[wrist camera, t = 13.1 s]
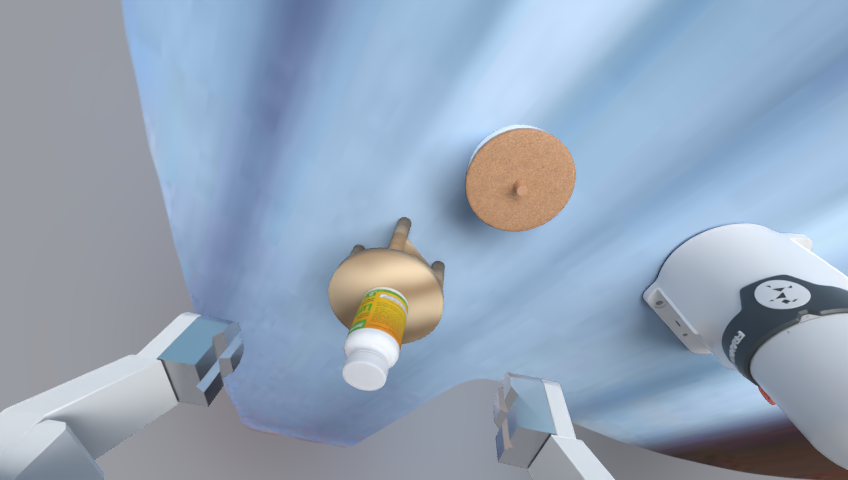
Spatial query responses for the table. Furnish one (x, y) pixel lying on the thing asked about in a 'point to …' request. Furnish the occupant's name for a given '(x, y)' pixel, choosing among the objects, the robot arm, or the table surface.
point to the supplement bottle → (375, 338)
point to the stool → (391, 282)
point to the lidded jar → (519, 178)
